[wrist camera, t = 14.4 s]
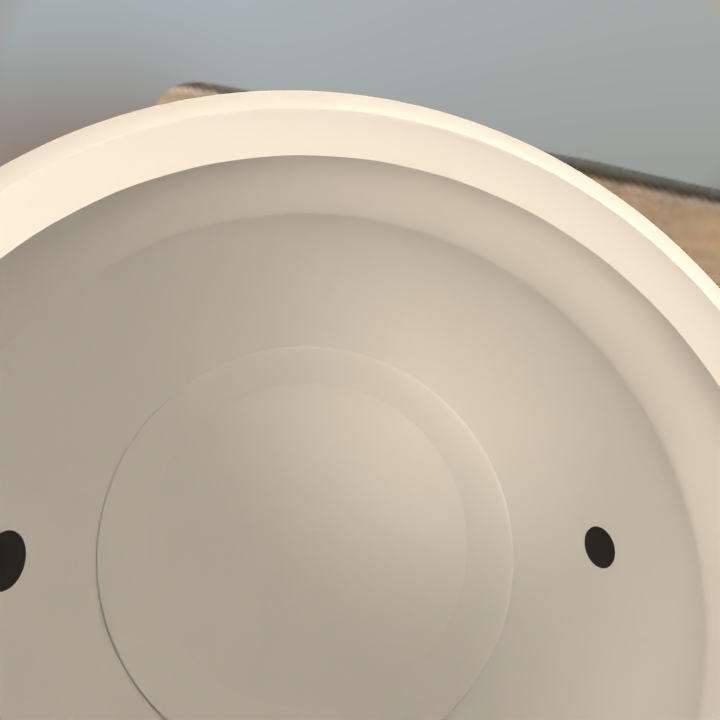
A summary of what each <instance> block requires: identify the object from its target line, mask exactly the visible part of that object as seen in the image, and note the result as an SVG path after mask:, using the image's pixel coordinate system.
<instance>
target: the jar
mask: <svg viewBox="0 0 720 720" xmlns="http://www.w3.org/2000/svg"><path fill="white" fill-rule="evenodd" d="M594 526H597V527H601V528H603V529H604V530H605V531H606V532H607V533H608V534H609V535H610V537H611V539H612V541H613V543H614V547H615V558H614V561H613V563H612V564H611V566H609V567H608V568H599V567H597V566H596V565H594V564H593V563H592V562H591V560H590V559H589V557H588V555H587V553H586V549H585V535H586V533H587V531H588V530H589V529H590V528H591V527H594ZM7 530H12V531H15V532H17V533H19V534H20V536H21V537H22V538H23V540H24V543H25V547H26V560H25V565H24V568H23V571H22V573H21V575H20V577H19V579H18V580H17V582H16V583H15V584H14V585H13V586H12V587H11V588H9V589H8V590H6V591H3V592H0V720H720V289H719V288H718V286H717V285H716V284H715V283H714V282H713V281H712V280H711V279H710V278H709V277H708V275H707V274H706V273H705V272H704V271H703V270H702V269H701V268H700V267H699V266H698V265H697V264H696V263H695V262H694V261H693V260H692V259H691V258H690V257H689V256H688V255H687V254H686V253H685V252H684V251H683V250H682V249H681V248H680V247H679V246H677V245H676V244H675V243H674V242H673V241H672V240H671V239H670V238H669V237H668V236H666V235H665V234H664V233H663V232H662V231H661V230H660V229H658V228H657V227H656V226H655V225H654V224H652V223H651V222H650V221H649V220H648V219H646V218H645V217H644V216H643V215H641V214H640V213H639V212H638V211H636V210H635V209H634V208H632V207H631V206H630V205H628V204H627V203H626V202H624V201H623V200H622V199H620V198H619V197H617V196H616V195H615V194H613V193H612V192H610V191H609V190H607V189H606V188H604V187H603V186H601V185H600V184H598V183H597V182H595V181H594V180H592V179H591V178H589V177H587V176H586V175H584V174H583V173H581V172H579V171H578V170H576V169H574V168H572V167H571V166H569V165H567V164H565V163H564V162H562V161H560V160H558V159H556V158H554V157H553V156H551V155H549V154H547V153H545V152H543V151H541V150H539V149H537V148H535V147H533V146H531V145H529V144H526V143H524V142H522V141H520V140H518V139H515V138H513V137H511V136H508V135H506V134H504V133H501V132H499V131H496V130H494V129H491V128H489V127H486V126H483V125H481V124H478V123H475V122H472V121H469V120H466V119H463V118H460V117H457V116H454V115H450V114H447V113H444V112H440V111H437V110H432V109H428V108H425V107H421V106H417V105H412V104H408V103H403V102H399V101H393V100H387V99H382V98H376V97H370V96H363V95H355V94H346V93H335V92H322V91H290V90H287V91H285V90H284V91H283V90H282V91H253V92H240V93H229V94H220V95H212V96H205V97H198V98H192V99H187V100H181V101H176V102H171V103H166V104H162V105H158V106H153V107H149V108H145V109H141V110H138V111H134V112H131V113H127V114H124V115H120V116H117V117H114V118H111V119H108V120H105V121H102V122H99V123H96V124H93V125H91V126H88V127H85V128H83V129H80V130H77V131H75V132H72V133H70V134H67V135H65V136H63V137H60V138H58V139H55V140H53V141H51V142H49V143H47V144H44V145H42V146H40V147H38V148H36V149H34V150H32V151H30V152H28V153H26V154H24V155H22V156H20V157H18V158H16V159H14V160H12V161H10V162H9V163H7V164H5V165H3V166H1V167H0V533H1V532H4V531H7Z"/></svg>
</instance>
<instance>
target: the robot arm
mask: <svg viewBox="0 0 720 720" xmlns="http://www.w3.org/2000/svg"><path fill="white" fill-rule="evenodd" d="M585 549H586V553H587V555H588V557H589V559H590V560H591V562H592V563H593V564H594V565H596V566H597V567H599V568H608V567H609V566H611V564H612V563H613V561H614V558H615V547H614V543H613V541H612V539H611V537H610V535H609V534H608V533H607V532H606V531H605V530H604V529H603V528H601V527H597V526H594V527H591V528H590V529H589V530H588V531H587V533H586V535H585ZM25 560H26V547H25V543H24V540H23V538H22V537H21V536H20V534H19V533H17V532H15V531H12V530H7V531H4V532H1V533H0V592H3V591H6V590H8V589H9V588H11V587H12V586H13V585H14V584H15V583H16V582H17V580H18V579H19V577H20V575H21V573H22V571H23V568H24V565H25Z"/></svg>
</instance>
